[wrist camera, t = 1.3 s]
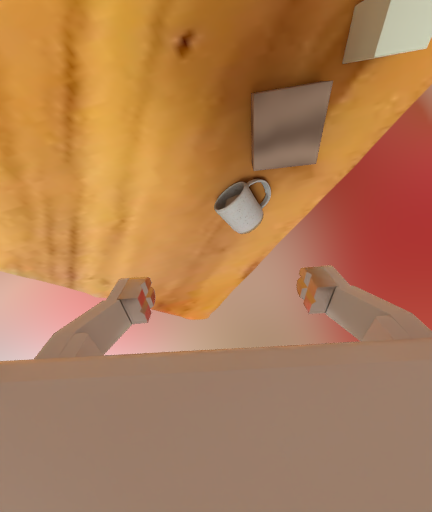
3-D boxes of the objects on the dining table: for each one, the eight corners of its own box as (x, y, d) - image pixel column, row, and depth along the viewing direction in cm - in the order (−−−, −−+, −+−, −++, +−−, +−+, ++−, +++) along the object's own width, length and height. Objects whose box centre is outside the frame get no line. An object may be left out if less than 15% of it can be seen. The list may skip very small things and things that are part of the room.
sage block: (355, 6, 23) (397, -22, 17) (401, -4, 22) (461, -37, 16) (342, 64, 26) (373, 57, 20) (381, 57, 26) (426, 48, 20)
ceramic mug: (236, 223, 45) (237, 243, 39) (214, 198, 41) (211, 215, 35) (277, 197, 40) (285, 215, 34) (256, 165, 36) (261, 179, 30)
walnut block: (251, 93, 29) (253, 94, 25) (319, 81, 28) (333, 80, 24) (251, 162, 36) (253, 170, 32) (307, 155, 34) (315, 163, 31)
